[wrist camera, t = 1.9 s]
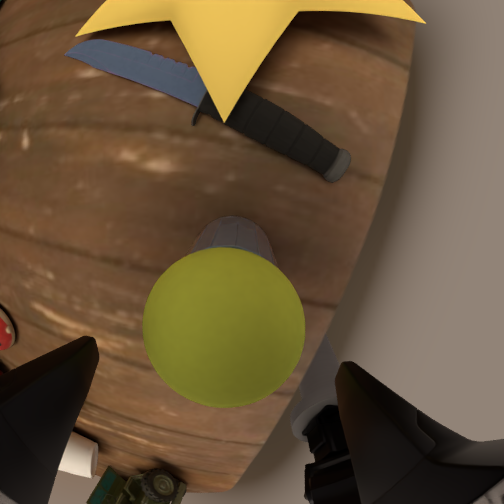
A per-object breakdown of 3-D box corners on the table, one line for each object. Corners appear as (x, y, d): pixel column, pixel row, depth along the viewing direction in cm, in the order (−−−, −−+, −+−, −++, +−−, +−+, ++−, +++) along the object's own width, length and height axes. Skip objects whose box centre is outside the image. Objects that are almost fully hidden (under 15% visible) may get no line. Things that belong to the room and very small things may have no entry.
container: (282, 231, 19) (302, 269, 12) (254, 297, 21) (258, 357, 14) (208, 204, 18) (188, 228, 12) (185, 273, 20) (160, 325, 13)
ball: (312, 257, 13) (361, 332, 7) (262, 355, 15) (271, 449, 9) (185, 210, 12) (133, 256, 6) (154, 320, 14) (113, 406, 8)
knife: (370, 138, 14) (325, 204, 16) (360, 134, 16) (321, 193, 18) (70, 18, 11) (48, 72, 13) (87, 22, 13) (66, 72, 15)
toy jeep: (129, 496, 35) (89, 467, 34) (208, 485, 30) (153, 448, 29) (111, 534, 23) (64, 504, 22) (192, 543, 18) (123, 510, 17)
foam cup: (91, 439, 24) (11, 403, 21) (87, 494, 19) (7, 457, 16) (102, 431, 32) (34, 404, 28) (97, 477, 27) (29, 449, 23)
